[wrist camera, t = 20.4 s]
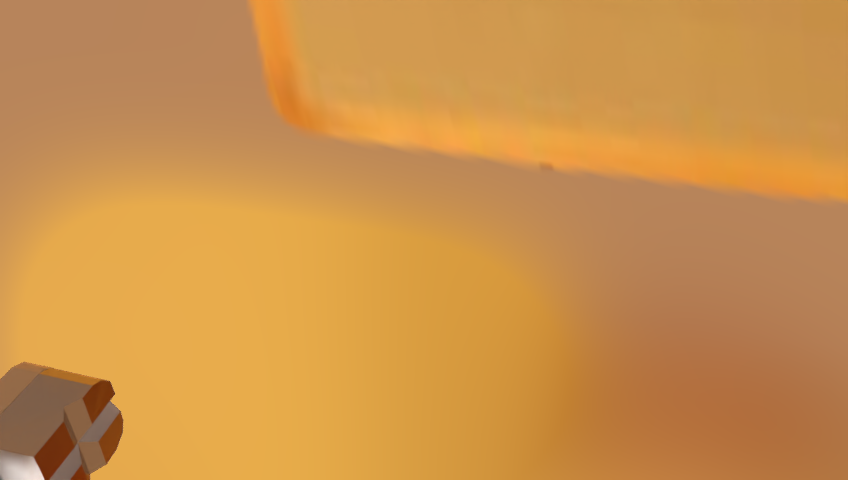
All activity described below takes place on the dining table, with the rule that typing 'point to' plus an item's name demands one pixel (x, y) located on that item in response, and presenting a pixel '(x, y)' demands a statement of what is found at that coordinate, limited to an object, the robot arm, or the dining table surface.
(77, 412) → the robot arm
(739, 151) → the dining table surface
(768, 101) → the dining table surface
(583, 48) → the dining table surface
